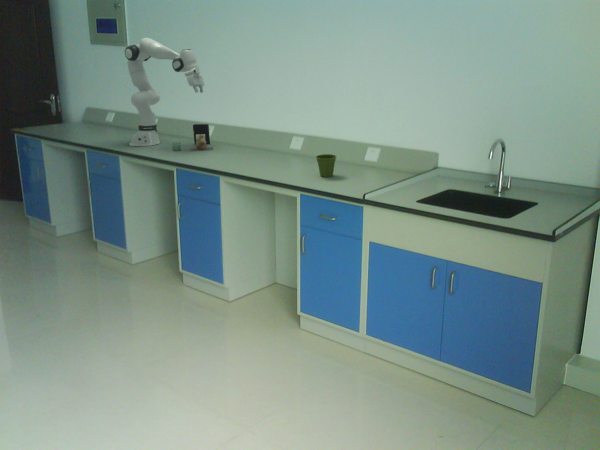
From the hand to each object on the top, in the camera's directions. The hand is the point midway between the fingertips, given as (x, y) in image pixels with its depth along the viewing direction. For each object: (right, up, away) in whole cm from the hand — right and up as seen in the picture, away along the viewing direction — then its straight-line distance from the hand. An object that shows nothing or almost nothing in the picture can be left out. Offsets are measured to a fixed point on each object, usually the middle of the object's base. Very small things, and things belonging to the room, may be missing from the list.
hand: (199, 92), depth 411 cm
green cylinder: (-17, -39, +11) cm, 44 cm away
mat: (-1, -38, +12) cm, 40 cm away
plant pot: (+84, -63, -70) cm, 126 cm away
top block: (-1, -33, +11) cm, 34 cm away
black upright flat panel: (-3, -32, +31) cm, 45 cm away
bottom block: (-1, -37, +12) cm, 39 cm away
